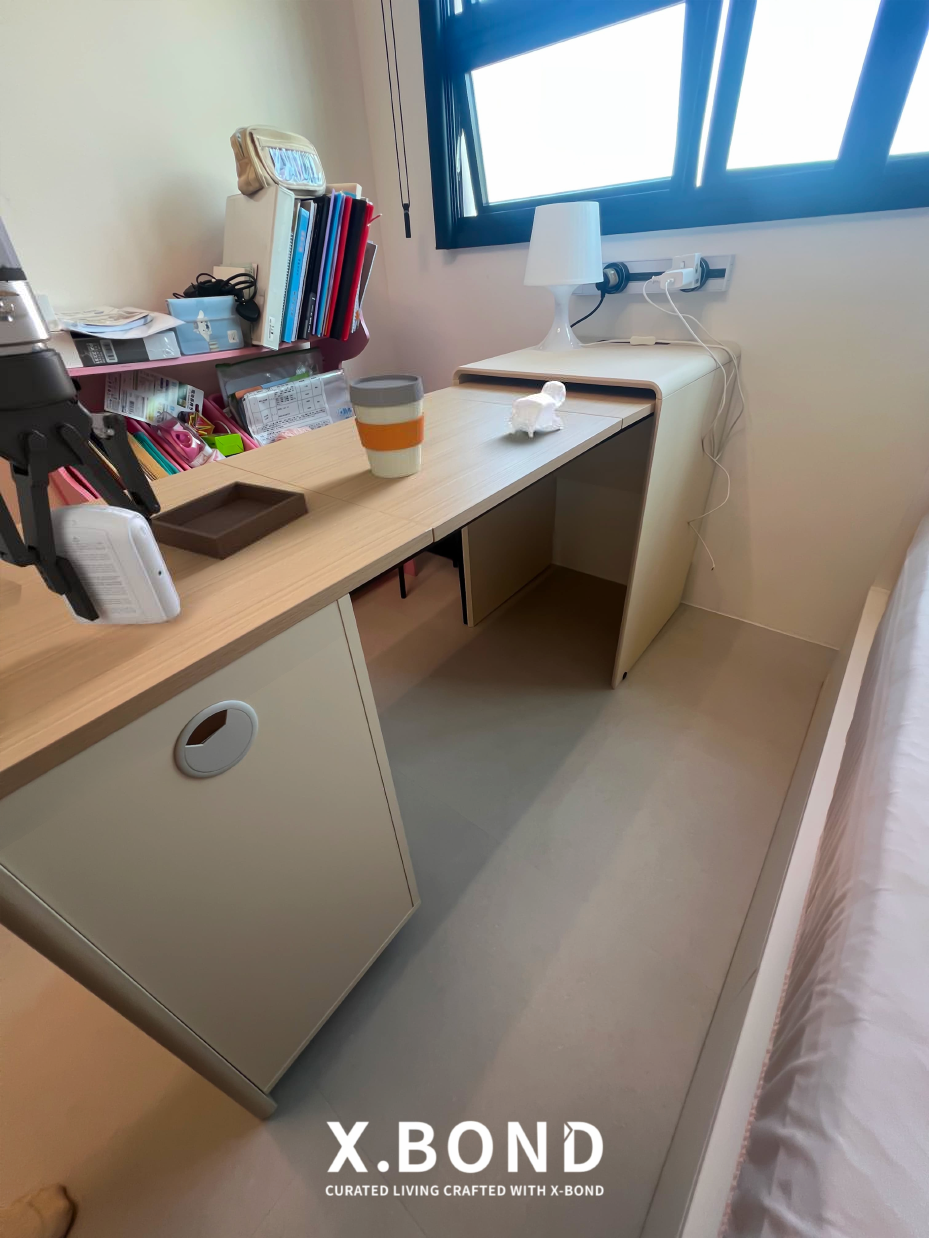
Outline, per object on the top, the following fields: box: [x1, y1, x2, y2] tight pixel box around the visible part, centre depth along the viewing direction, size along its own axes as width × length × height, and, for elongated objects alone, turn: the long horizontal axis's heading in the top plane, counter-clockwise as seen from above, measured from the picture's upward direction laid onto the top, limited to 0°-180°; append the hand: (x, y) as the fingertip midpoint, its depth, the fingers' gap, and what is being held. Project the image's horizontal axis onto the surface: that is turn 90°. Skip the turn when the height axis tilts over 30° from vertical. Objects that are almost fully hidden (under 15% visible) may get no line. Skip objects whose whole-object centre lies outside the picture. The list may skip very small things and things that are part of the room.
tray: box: [150, 480, 309, 561], centre depth 74 cm, size 17×15×3 cm
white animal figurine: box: [507, 380, 567, 438], centre depth 109 cm, size 9×8×15 cm
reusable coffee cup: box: [348, 373, 425, 479], centre depth 89 cm, size 12×13×15 cm
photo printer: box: [50, 503, 181, 626], centre depth 50 cm, size 10×4×12 cm, turn 91°
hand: (121, 598), depth 52 cm, fingers closed on photo printer, 6 cm apart
